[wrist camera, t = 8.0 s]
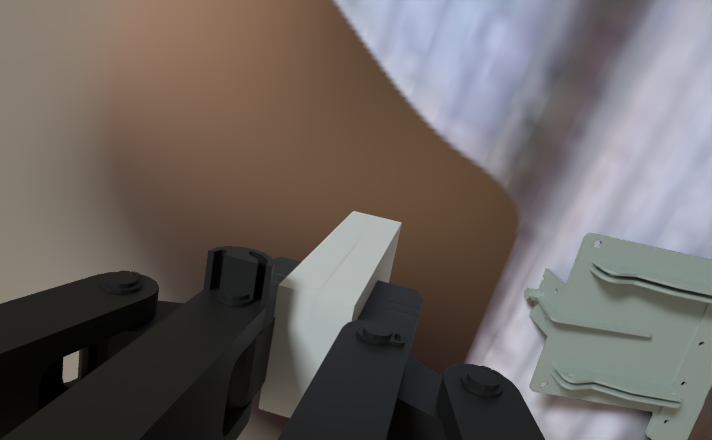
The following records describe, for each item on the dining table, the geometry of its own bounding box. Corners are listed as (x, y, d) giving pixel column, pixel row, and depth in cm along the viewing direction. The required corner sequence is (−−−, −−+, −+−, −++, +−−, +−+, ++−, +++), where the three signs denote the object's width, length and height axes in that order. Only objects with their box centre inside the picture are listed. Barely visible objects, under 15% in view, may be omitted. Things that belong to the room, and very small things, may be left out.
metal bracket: (517, 432, 34) (601, 206, 30) (488, 380, 40) (556, 183, 36) (717, 464, 36) (819, 256, 33) (662, 410, 42) (744, 227, 38)
